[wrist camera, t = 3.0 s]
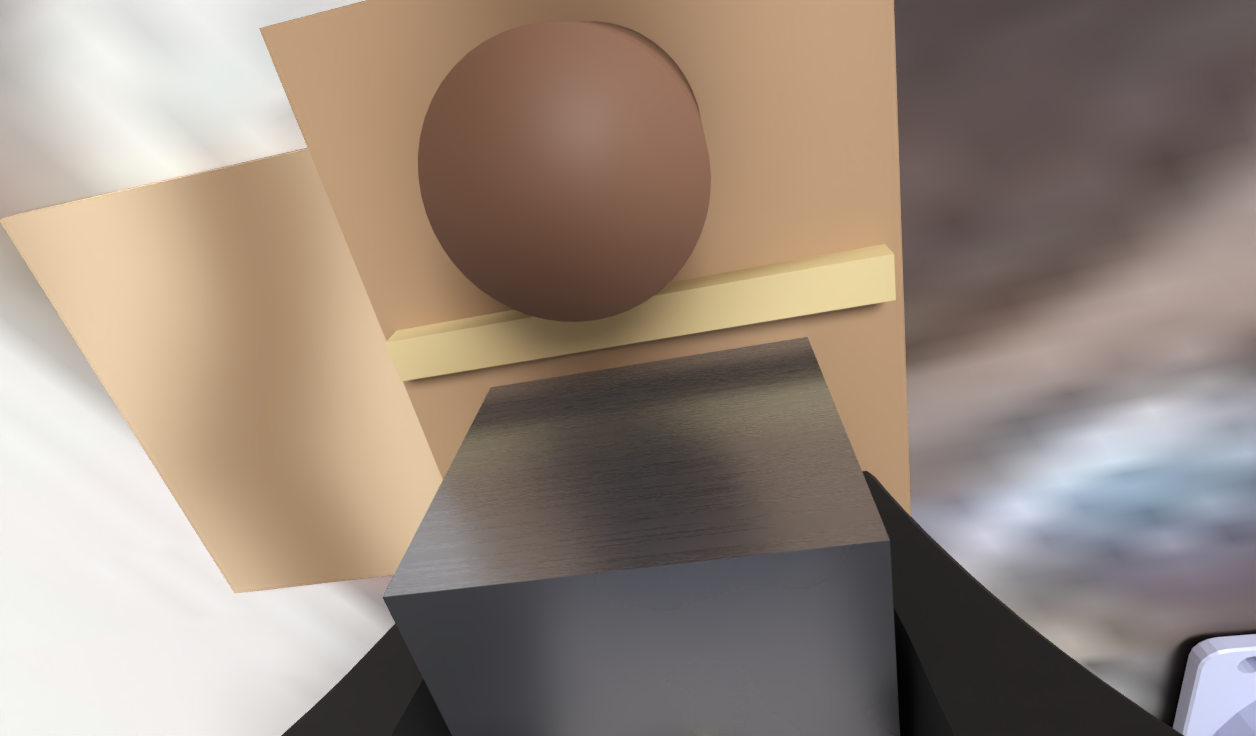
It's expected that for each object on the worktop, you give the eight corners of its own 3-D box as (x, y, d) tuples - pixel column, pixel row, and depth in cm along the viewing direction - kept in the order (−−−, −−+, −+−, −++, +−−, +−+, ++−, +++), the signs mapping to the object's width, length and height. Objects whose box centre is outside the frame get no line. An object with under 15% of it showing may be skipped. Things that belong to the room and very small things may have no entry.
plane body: (829, -91, 9) (986, -210, 5) (881, 685, 16) (965, 961, 12) (366, 26, 10) (99, 31, 6) (600, 707, 17) (570, 968, 13)
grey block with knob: (807, 337, 9) (913, 596, 5) (839, 648, 12) (926, 985, 8) (490, 387, 10) (355, 651, 6) (588, 670, 12) (543, 991, 8)
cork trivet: (373, 133, 11) (363, 136, 11) (523, 547, 15) (519, 559, 15) (18, 213, 12) (-2, 219, 12) (244, 580, 16) (234, 593, 16)
